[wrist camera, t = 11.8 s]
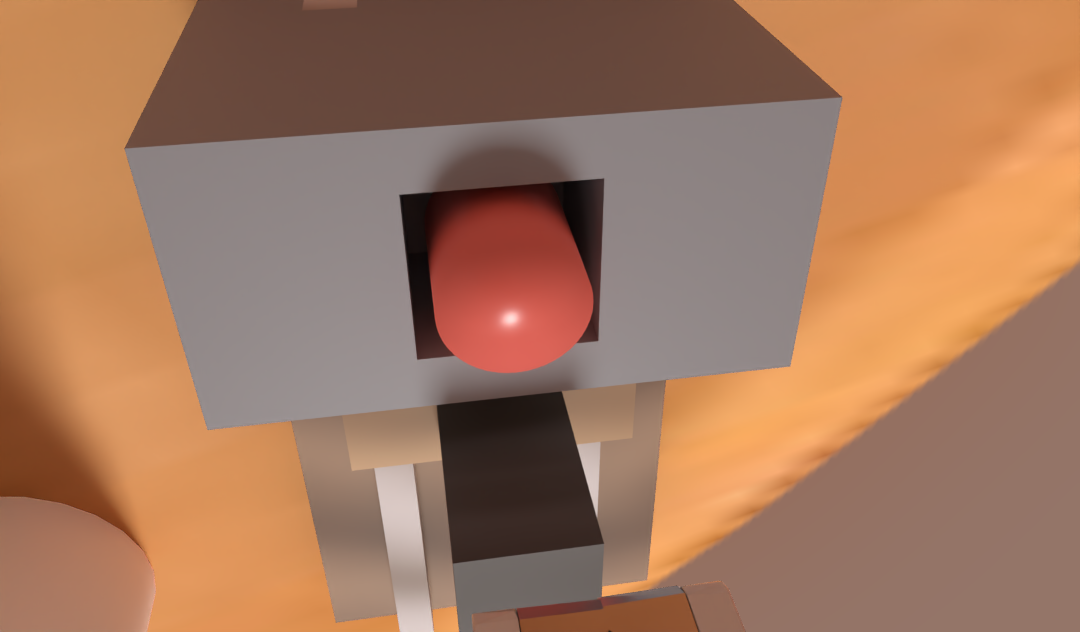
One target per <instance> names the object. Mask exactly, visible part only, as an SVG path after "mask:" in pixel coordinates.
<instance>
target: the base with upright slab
mask: <svg viewBox="0 0 1080 632" xmlns="http://www.w3.org/2000/svg"><path fill="white" fill-rule="evenodd" d="M155 593H156V587H155V577H154V570H153V568H152V566H151V564H150V563H149V561H148V559H147V557H146V555H145V553H144V551H143V550H142V549H141V548H140V547H139V546H138V545H137V544H136V543H135V542H134V541H133V540H132V539H131V538H130V537H129V536H128V535H127V534H126V533H125V532H124V531H122V530H120V529H119V528H117V527H115V526H114V525H112V524H110V523H109V522H107V521H105V520H103V519H102V518H100V517H98V516H97V515H94V514H92V513H89V512H86V511H83V510H80V509H77V508H75V507H72V506H69V505H66V504H63V503H58V502H52V501H47V500H41V499H35V498H29V497H0V632H147V629H148V625H149V620H150V616H151V611H152V607H153V602H154V598H155Z"/></svg>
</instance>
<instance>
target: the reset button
mask: <svg viewBox="0 0 1080 632" xmlns="http://www.w3.org/2000/svg"><path fill="white" fill-rule="evenodd" d="M424 221H425V235H426V244H427V253H428V262H429V271H430V280H431V289H432V297H433V306H434V315H435V322H436V327H437V330H438V333H439V335H440V337H441V339H442V341H443V343H444V344H445V345H446V347H447V348H448V349H449V350H450V351H451V352H452V353H453V354H454V355H455V356H456V357H458V358H459V359H460V360H462V361H464V362H465V363H467V364H469V365H471V366H473V367H476V368H478V369H482V370H486V371H491V372H497V373H517V372H523V371H528V370H532V369H536V368H539V367H541V366H544V365H546V364H548V363H550V362H552V361H554V360H556V359H558V358H559V357H561V356H562V355H564V354H565V353H566V352H567V351H569V350H570V349H571V348H572V347H573V346H574V345H575V344H576V343H577V342H578V340H579V339H580V338H581V336H582V335H583V333H584V332H585V330H586V328H587V326H588V324H589V321H590V319H591V315H592V311H593V291H592V286H591V283H590V281H589V278H588V275H587V273H586V270H585V267H584V265H583V262H582V259H581V256H580V254H579V251H578V248H577V246H576V243H575V240H574V238H573V235H572V232H571V230H570V227H569V224H568V221H567V219H566V216H565V213H564V211H563V208H562V205H561V203H560V200H559V197H558V195H557V192H556V190H555V189H554V187H553V185H552V184H551V183H540V184H527V185H515V186H502V187H490V188H477V189H465V190H452V191H440V192H433V193H432V195H431V197H430V199H429V201H428V204H427V207H426V211H425V218H424Z"/></svg>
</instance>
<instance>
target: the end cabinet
mask: <svg viewBox="0 0 1080 632" xmlns="http://www.w3.org/2000/svg"><path fill="white" fill-rule="evenodd" d="M303 2H304V0H198V1H197V3H196V5H195V7H194V10H193V12H192V14H191V16H190V18H189V20H188V22H187V24H186V26H185V28H184V30H183V32H182V34H181V36H180V38H179V40H178V42H177V44H176V46H175V48H174V50H173V52H172V54H171V56H170V58H169V60H168V62H167V64H166V66H165V68H164V70H163V72H162V74H161V76H160V78H159V80H158V82H157V84H156V86H155V88H154V90H153V92H152V94H151V96H150V98H149V100H148V102H147V104H146V106H145V108H144V110H143V112H142V114H141V116H140V118H139V120H138V122H137V124H136V126H135V128H134V130H133V132H132V134H131V136H130V138H129V141H128V143H127V145H126V147H125V152H126V155H127V159H128V162H129V166H130V169H131V172H132V176H133V179H134V182H135V186H136V189H137V193H138V196H139V199H140V203H141V206H142V210H143V213H144V216H145V220H146V223H147V226H148V230H149V233H150V237H151V240H152V243H153V247H154V250H155V253H156V257H157V260H158V264H159V267H160V270H161V274H162V277H163V281H164V284H165V287H166V291H167V294H168V297H169V301H170V304H171V308H172V311H173V314H174V318H175V321H176V325H177V328H178V331H179V335H180V338H181V341H182V345H183V348H184V352H185V355H186V358H187V362H188V365H189V369H190V372H191V375H192V379H193V382H194V385H195V389H196V392H197V396H198V399H199V402H200V406H201V409H202V413H203V416H204V419H205V423H206V426H207V429H208V430H212V429H221V428H230V427H239V426H249V425H258V424H267V423H276V422H285V421H294V420H304V419H313V418H322V417H331V416H340V415H349V414H359V413H368V412H377V411H386V410H395V409H404V408H413V407H423V406H432V405H441V404H450V403H459V402H468V401H478V400H487V399H496V398H505V397H514V396H523V395H533V394H542V393H551V392H560V391H569V390H578V389H588V388H597V387H606V386H615V385H624V384H633V383H642V382H652V381H661V380H670V379H679V378H688V377H697V376H707V375H716V374H725V373H734V372H743V371H752V370H762V369H771V368H780V367H789V366H790V365H791V360H792V354H793V349H794V344H795V339H796V334H797V329H798V324H799V318H800V313H801V308H802V303H803V298H804V293H805V287H806V282H807V277H808V272H809V267H810V262H811V256H812V251H813V246H814V241H815V236H816V231H817V226H818V220H819V215H820V210H821V205H822V200H823V195H824V189H825V184H826V179H827V174H828V169H829V164H830V159H831V153H832V148H833V143H834V138H835V133H836V128H837V122H838V117H839V112H840V107H841V102H842V97H841V96H840V95H839V94H838V93H837V92H836V91H835V90H834V89H832V88H831V87H830V86H829V85H828V84H827V83H826V82H825V81H823V80H822V79H821V78H820V77H819V76H818V75H817V74H816V73H815V72H813V71H812V70H811V69H810V68H809V67H808V66H807V65H806V64H804V63H803V62H802V61H801V60H800V59H799V58H798V57H797V56H795V55H794V54H793V53H792V52H791V51H790V50H789V49H788V48H786V47H785V46H784V45H783V44H782V43H781V42H780V41H779V40H777V39H776V38H775V37H774V36H773V35H772V34H771V33H770V32H769V31H767V30H766V29H765V28H764V27H763V26H762V25H761V24H760V23H758V22H757V21H756V20H755V19H754V18H753V17H752V16H751V15H749V14H748V13H747V12H746V11H745V10H744V9H743V8H742V7H740V6H739V5H738V4H737V3H736V2H735V1H734V0H357V7H356V8H338V9H320V10H302V8H303ZM540 183H551V184H552V185H553V187H554V189H555V190H556V192H557V195H558V197H559V200H560V203H561V205H562V208H563V211H564V213H565V216H566V219H567V221H568V224H569V227H570V230H571V232H572V235H573V238H574V240H575V243H576V246H577V248H578V251H579V254H580V256H581V259H582V262H583V265H584V267H585V270H586V273H587V275H588V278H589V281H590V283H591V286H592V291H593V311H592V315H591V319H590V321H589V324H588V326H587V328H586V330H585V332H584V333H583V335H582V336H581V338H580V339H579V340H578V342H577V343H576V344H575V345H574V346H573V347H572V348H571V349H570V350H569V351H567V352H566V353H565V354H564V355H562V356H561V357H559V358H558V359H556V360H554V361H552V362H550V363H548V364H546V365H544V366H541V367H539V368H536V369H532V370H528V371H523V372H517V373H497V372H491V371H486V370H482V369H478V368H476V367H473V366H471V365H469V364H467V363H465V362H464V361H462V360H460V359H459V358H458V357H456V356H455V355H454V354H453V353H452V352H451V351H450V350H449V349H448V348H447V347H446V345H445V344H444V343H443V341H442V339H441V337H440V335H439V333H438V330H437V327H436V322H435V315H434V306H433V297H432V289H431V280H430V271H429V262H428V253H427V244H426V235H425V221H424V218H425V211H426V207H427V204H428V201H429V199H430V197H431V195H432V193H433V192H440V191H452V190H465V189H477V188H490V187H502V186H515V185H527V184H540Z"/></svg>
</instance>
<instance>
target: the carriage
mask: <svg viewBox="0 0 1080 632" xmlns="http://www.w3.org/2000/svg"><path fill="white" fill-rule="evenodd" d="M635 394H636V383H633V384H624V385H615V386H606V387H597V388H588V389H578V390H569V391H560V392H551V393H542V394H533V395H523V396H514V397H505V398H496V399H487V400H478V401H468V402H459V403H450V404H441V405H432V406H423V407H413V408H404V409H395V410H386V411H377V412H368V413H359V414H349V415H342V418H343V424H344V429H345V435H346V440H347V446H348V452H349V457H350V463H351V469H352V471H355V470H363V469H372V468H380V467H389V466H398V465H406V464H415V463H423V462H432V461H440V460H442V465H443V475H444V485H445V495H446V505H447V515H448V525H449V535H450V545H451V555H452V565H453V575H454V585H455V594H456V604H457V614H458V624H459V632H473V625H472V614H475V613H483V612H490V611H498V610H505V609H513V608H515V610H516V608H524V607H533V606H542V605H551V604H560V603H569V602H577V601H586V600H595V599H597V598H598V597H602V577H603V556H604V542H603V538H602V534H601V531H600V527H599V524H598V520H597V516H596V513H595V509H594V505H593V502H592V498H591V495H590V491H589V487H588V484H587V480H586V477H585V473H584V469H583V466H582V462H581V458H580V455H579V451H578V448H577V444H586V443H595V442H603V441H612V440H620V439H629V438H632V437H633V422H634V408H635Z"/></svg>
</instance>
